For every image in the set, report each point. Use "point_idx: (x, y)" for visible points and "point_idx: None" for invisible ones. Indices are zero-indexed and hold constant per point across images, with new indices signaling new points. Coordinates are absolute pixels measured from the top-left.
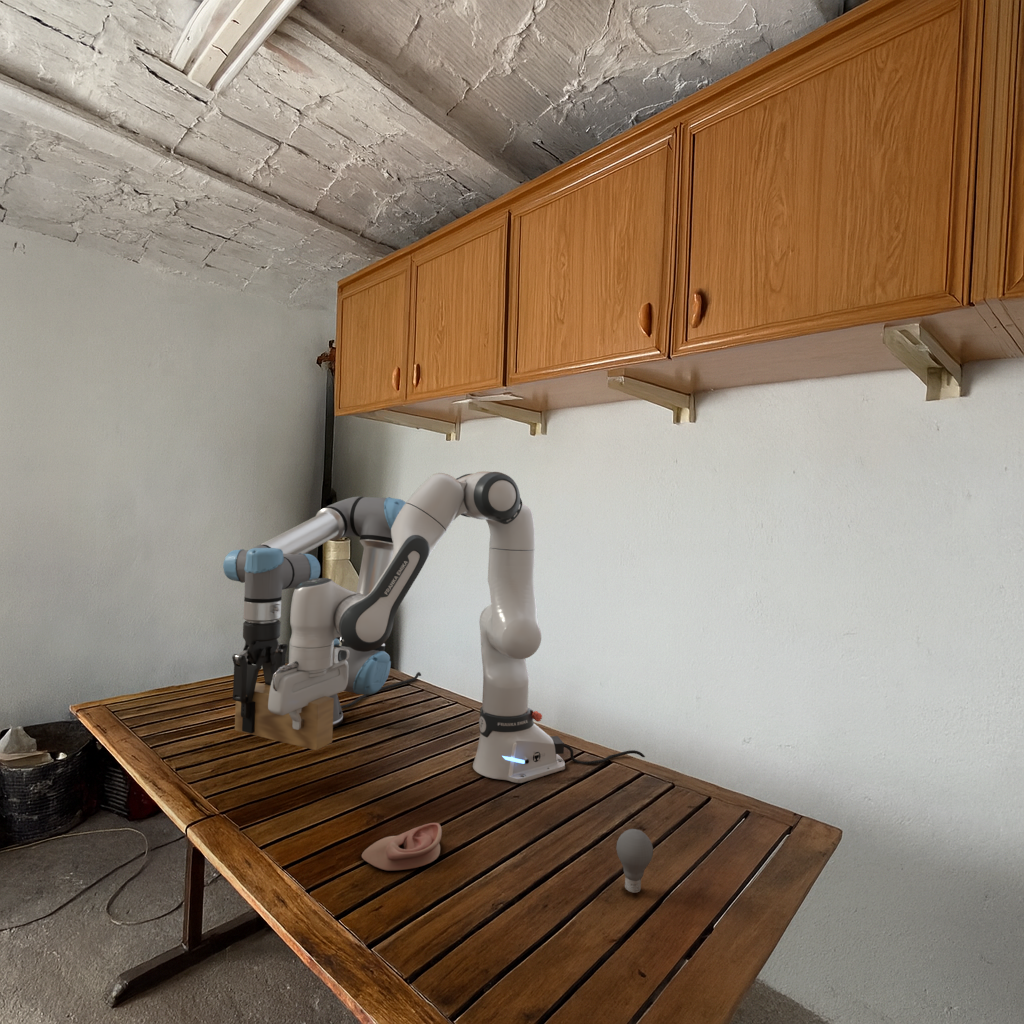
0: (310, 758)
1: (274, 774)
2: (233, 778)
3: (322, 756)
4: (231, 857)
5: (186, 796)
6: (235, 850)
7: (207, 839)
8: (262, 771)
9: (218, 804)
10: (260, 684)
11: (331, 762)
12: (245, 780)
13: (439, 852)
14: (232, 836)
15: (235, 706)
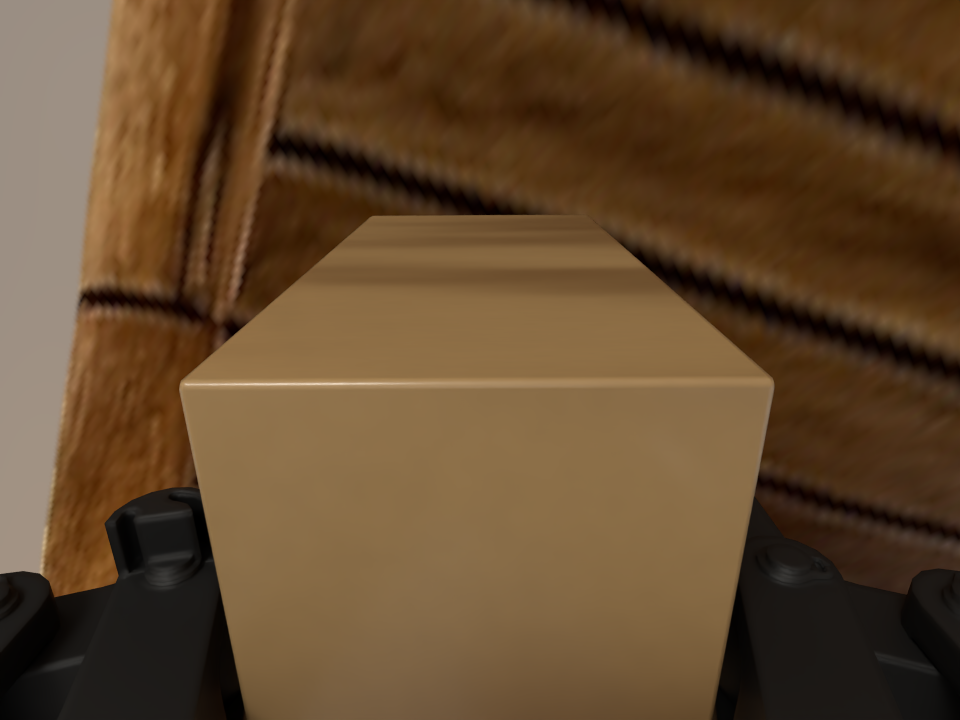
0: (876, 265)
1: (633, 244)
2: (499, 86)
3: (919, 302)
4: (78, 573)
5: (222, 39)
6: (108, 556)
7: (80, 436)
8: (637, 160)
9: (267, 255)
10: (660, 640)
11: (860, 387)
12: (511, 166)
13: None
14: (151, 490)
15: (309, 270)
